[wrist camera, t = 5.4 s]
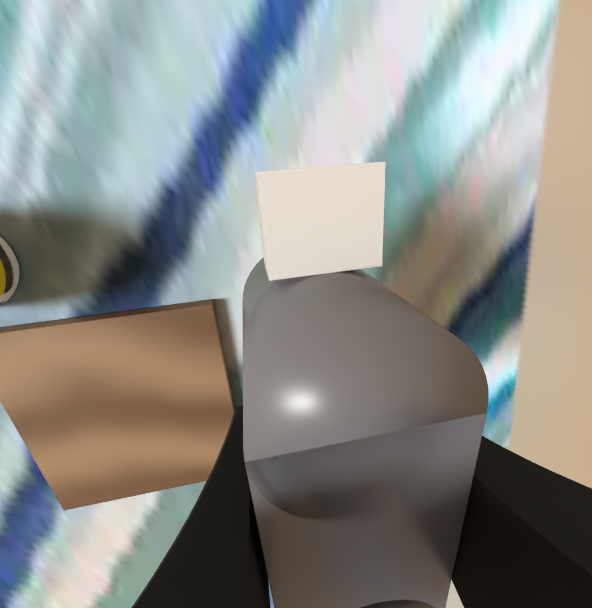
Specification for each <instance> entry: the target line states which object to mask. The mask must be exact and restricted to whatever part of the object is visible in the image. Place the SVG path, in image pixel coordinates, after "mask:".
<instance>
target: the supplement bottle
mask: <svg viewBox="0 0 592 608" xmlns="http://www.w3.org/2000/svg"><path fill="white" fill-rule="evenodd" d="M18 282H19V265H18V262H17V259H16V257H15V255H14V253H13V251H12V250H11V248H10V247H9V245H8V244H7V243H6V242H5V241H4V240H3V239H2V238H1V237H0V305H1V304H3V303H4V302H6V301H7V300H8V299H9V298H10V297H11V296H12V295H13V293H14V292H15V290H16V288H17V285H18Z"/></svg>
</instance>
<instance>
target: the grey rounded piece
mask: <svg viewBox="0 0 592 608" xmlns="http://www.w3.org/2000/svg"><path fill="white" fill-rule="evenodd" d="M254 182H255V190H256V198H257V206H258V214H259V222H260V230H261V238H262V246H263V254H264V258H262V259H261V260H260V261H259V262H258V263H257V265H256V266H255V267H254V268H253V270H252V271H251V273H250V275H249V277H248V279H247V281H246V284H245V287H244V292H243V451H244V460H245V466H246V471H247V476H248V481H249V486H250V490H251V495H252V500H253V505H254V510H255V515H256V520H257V525H258V530H259V534H260V539H261V544H262V549H263V554H264V559H265V564H266V569H267V574H268V578H269V583H270V588H271V593H272V598H273V603H274V608H445V607H446V601H447V597H448V592H449V588H450V583H451V578H452V574H453V569H454V564H455V560H456V555H457V550H458V545H459V541H460V536H461V531H462V527H463V522H464V517H465V513H466V508H467V503H468V498H469V494H470V489H471V484H472V480H473V475H474V470H475V466H476V461H477V456H478V451H479V447H480V442H481V437H482V433H483V428H484V423H485V419H486V414H487V407H488V384H487V379H486V375H485V372H484V370H483V367H482V365H481V363H480V361H479V360H478V358H477V356H476V355H475V353H474V352H473V351H472V350H471V349H470V348H469V347H468V346H467V345H466V344H465V343H464V342H463V341H461V340H460V339H459V338H457V337H456V336H455V335H453V334H452V333H450V332H449V331H448V330H446V329H445V328H443V327H442V326H441V325H439V324H438V323H436V322H435V321H433V320H432V319H431V318H429V317H428V316H426V315H425V314H423V313H422V312H421V311H419V310H418V309H416V308H415V307H413V306H412V305H411V304H409V303H408V302H406V301H405V300H403V299H402V298H401V297H399V296H398V295H396V294H395V293H393V292H392V291H391V290H389V289H388V288H386V287H385V286H384V285H382V284H381V283H379V282H378V281H376V280H375V279H374V278H372V277H371V276H369V275H368V274H366V273H365V272H364V271H362V270H361V269H364V268H372V267H380V266H382V253H383V222H384V191H385V162H375V163H362V164H350V165H338V166H326V167H313V168H301V169H289V170H277V171H264V172H256V173H255V174H254Z"/></svg>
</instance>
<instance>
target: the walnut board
mask: <svg viewBox="0 0 592 608" xmlns="http://www.w3.org/2000/svg"><path fill="white" fill-rule="evenodd" d="M0 401H1V403H2V405H3V406H4V408H5V410H6V412H7V413H8V415H9V417H10V418H11V420H12V422H13V424H14V425H15V427H16V429H17V430H18V432H19V434H20V436H21V437H22V439H23V441H24V443H25V444H26V446H27V448H28V449H29V451H30V453H31V455H32V456H33V458H34V460H35V461H36V463H37V465H38V467H39V468H40V470H41V472H42V473H43V475H44V477H45V479H46V480H47V482H48V484H49V486H50V487H51V489H52V491H53V492H54V494H55V496H56V498H57V499H58V501H59V503H60V504H61V506H62V508H63V510H68V509H73V508H78V507H83V506H87V505H92V504H97V503H102V502H107V501H111V500H116V499H121V498H126V497H131V496H136V495H140V494H145V493H150V492H155V491H160V490H164V489H169V488H174V487H179V486H184V485H189V484H193V483H198V482H203V481H207V479H208V477H209V475H210V473H211V471H212V469H213V467H214V465H215V462H216V460H217V457H218V455H219V453H220V450H221V448H222V446H223V443H224V440H225V438H226V435H227V432H228V430H229V427H230V424H231V421H232V417H233V413H234V410H235V406H234V402H233V397H232V392H231V387H230V382H229V377H228V372H227V367H226V362H225V357H224V352H223V347H222V342H221V337H220V332H219V327H218V323H217V318H216V313H215V308H214V303H213V299H212V300H205V301H197V302H190V303H182V304H174V305H167V306H159V307H152V308H144V309H137V310H129V311H122V312H114V313H107V314H99V315H92V316H84V317H77V318H69V319H62V320H54V321H47V322H39V323H32V324H24V325H17V326H9V327H1V328H0Z"/></svg>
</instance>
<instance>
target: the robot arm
mask: <svg viewBox="0 0 592 608" xmlns="http://www.w3.org/2000/svg"><path fill="white" fill-rule="evenodd" d="M451 579H452V581H453V584H454V586H455V588H456V590H457V593H458V595H459V597H460V599H461V601H462V604H463V606H464V608H592V489H591V488H589V487H586V486H584V485H582V484H579V483H577V482H575V481H573V480H570V479H568V478H566V477H563V476H561V475H559V474H556V473H555V472H552V471H550V470H548V469H546V468H544V467H542V466H539V465H537V464H535V463H533V462H531V461H529V460H527V459H525V458H523V457H521V456H519V455H517V454H515V453H513V452H511V451H509V450H507V449H505V448H503V447H502V446H500V445H498V444H496V443H494V442H492V441H491V440H489V439H487V438H485V437H484V436H482V437H481V442H480V447H479V451H478V456H477V461H476V466H475V470H474V475H473V480H472V484H471V489H470V494H469V498H468V503H467V508H466V513H465V517H464V522H463V527H462V531H461V536H460V541H459V545H458V550H457V555H456V560H455V564H454V569H453V574H452V578H451ZM132 608H270V597H269V582H268V574H267V569H266V564H265V559H264V554H263V549H262V544H261V539H260V534H259V530H258V525H257V520H256V515H255V510H254V505H253V500H252V495H251V490H250V486H249V481H248V476H247V471H246V466H245V460H244V451H243V406H237V408H236V409H235V410H234V413H233V417H232V421H231V424H230V427H229V430H228V432H227V435H226V438H225V440H224V443H223V446H222V448H221V450H220V453H219V455H218V457H217V460H216V462H215V465H214V467H213V469H212V471H211V473H210V475H209V477H208V479H207V482H206V484H205V486H204V488H203V490H202V492H201V494H200V496H199V498H198V500H197V502H196V504H195V506H194V507H193V509H192V511H191V513H190V515H189V517H188V518H187V520H186V522H185V524H184V526H183V527H182V529H181V531H180V533H179V534H178V536H177V538H176V539H175V541H174V543H173V544H172V546H171V548H170V549H169V551H168V553H167V554H166V556H165V557H164V559H163V561H162V562H161V564H160V565H159V567H158V569H157V570H156V572H155V573H154V575H153V577H152V578H151V580H150V581H149V583H148V584H147V586H146V587H145V589H144V590H143V592H142V593H141V595H140V596H139V598H138V599H137V601H136V602H135V604H134V605H133V606H132ZM445 608H446V607H445Z"/></svg>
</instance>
